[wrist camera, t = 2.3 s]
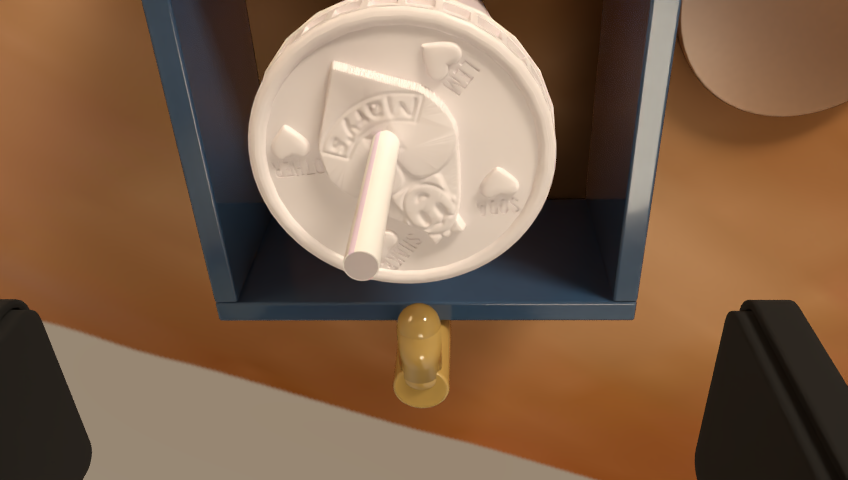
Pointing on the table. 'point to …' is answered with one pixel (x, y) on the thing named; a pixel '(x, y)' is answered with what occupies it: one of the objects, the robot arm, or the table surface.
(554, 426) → the table surface
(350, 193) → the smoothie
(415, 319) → the drawer
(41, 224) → the table surface
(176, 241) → the table surface
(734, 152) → the table surface
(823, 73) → the coaster
